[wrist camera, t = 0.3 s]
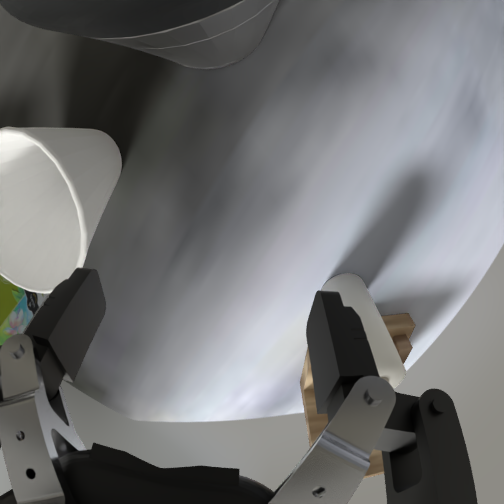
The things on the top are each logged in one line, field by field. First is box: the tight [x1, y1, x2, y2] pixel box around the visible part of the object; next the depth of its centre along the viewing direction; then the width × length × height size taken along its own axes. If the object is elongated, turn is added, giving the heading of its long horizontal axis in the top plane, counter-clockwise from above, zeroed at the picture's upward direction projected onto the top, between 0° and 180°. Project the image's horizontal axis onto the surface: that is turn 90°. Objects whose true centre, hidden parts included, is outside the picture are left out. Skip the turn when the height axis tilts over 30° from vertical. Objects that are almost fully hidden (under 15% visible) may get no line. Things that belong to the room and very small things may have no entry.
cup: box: [0, 127, 122, 294], centre depth 19 cm, size 12×12×12 cm
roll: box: [321, 273, 406, 389], centre depth 28 cm, size 6×6×13 cm
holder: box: [300, 313, 415, 478], centre depth 32 cm, size 14×14×18 cm
